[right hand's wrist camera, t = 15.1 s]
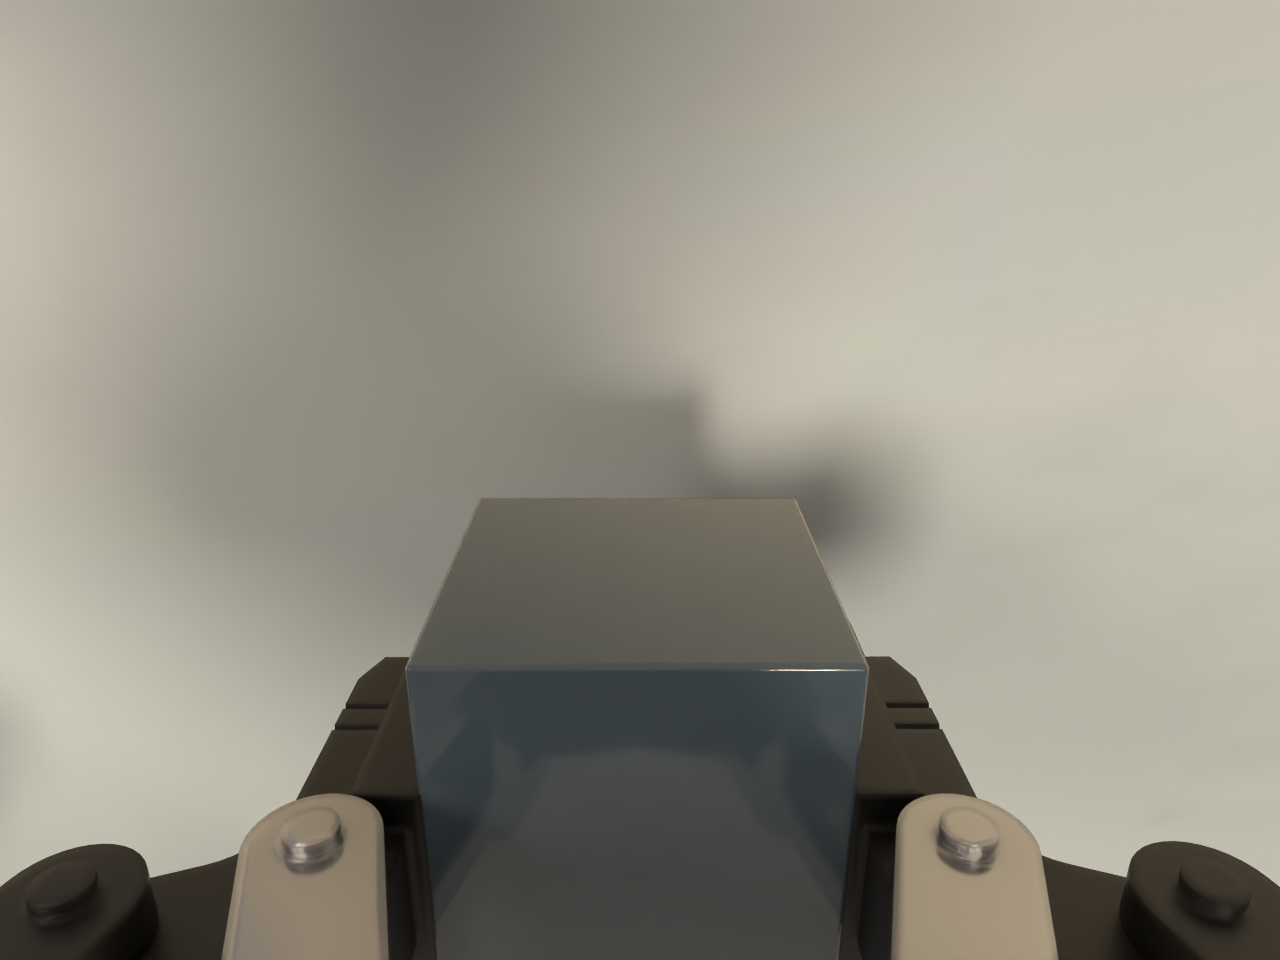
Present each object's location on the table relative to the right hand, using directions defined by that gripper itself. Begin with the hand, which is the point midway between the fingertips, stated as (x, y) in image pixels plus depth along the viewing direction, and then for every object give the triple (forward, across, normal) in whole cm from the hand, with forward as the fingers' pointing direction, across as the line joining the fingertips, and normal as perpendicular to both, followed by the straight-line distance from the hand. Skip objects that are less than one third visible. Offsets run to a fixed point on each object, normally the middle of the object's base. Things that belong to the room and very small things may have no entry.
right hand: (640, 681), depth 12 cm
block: (0, 0, 0) cm, 0 cm away
